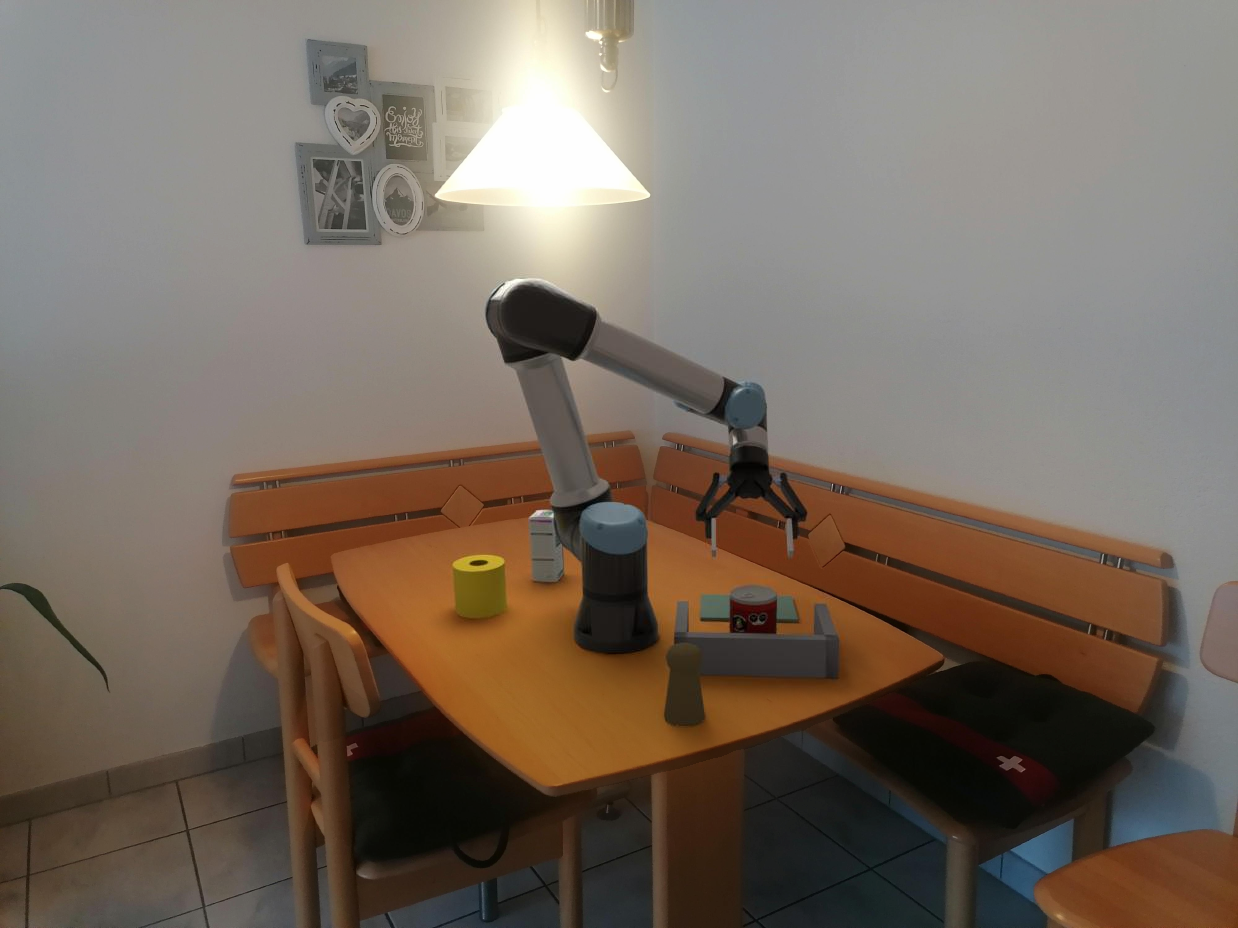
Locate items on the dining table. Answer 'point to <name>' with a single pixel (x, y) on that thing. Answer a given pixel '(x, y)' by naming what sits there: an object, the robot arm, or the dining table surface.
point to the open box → (765, 649)
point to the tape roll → (479, 586)
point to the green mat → (719, 608)
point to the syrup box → (545, 548)
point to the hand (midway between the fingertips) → (752, 554)
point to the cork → (684, 686)
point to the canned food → (753, 610)
